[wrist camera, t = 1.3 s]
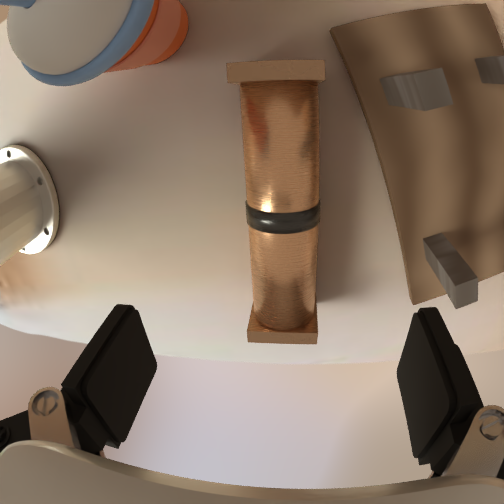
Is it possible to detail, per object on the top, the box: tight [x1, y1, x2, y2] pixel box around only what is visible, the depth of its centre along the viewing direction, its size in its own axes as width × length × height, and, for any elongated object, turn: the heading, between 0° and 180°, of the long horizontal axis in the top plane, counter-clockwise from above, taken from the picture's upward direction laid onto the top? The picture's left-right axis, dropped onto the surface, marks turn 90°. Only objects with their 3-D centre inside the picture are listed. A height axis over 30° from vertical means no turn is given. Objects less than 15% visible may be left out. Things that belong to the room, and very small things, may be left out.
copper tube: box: [226, 60, 325, 344], centre depth 23 cm, size 20×6×6 cm, turn 3°
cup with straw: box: [0, 0, 188, 86], centre depth 12 cm, size 9×9×18 cm
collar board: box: [330, 4, 504, 309], centre depth 17 cm, size 14×24×8 cm, turn 23°
